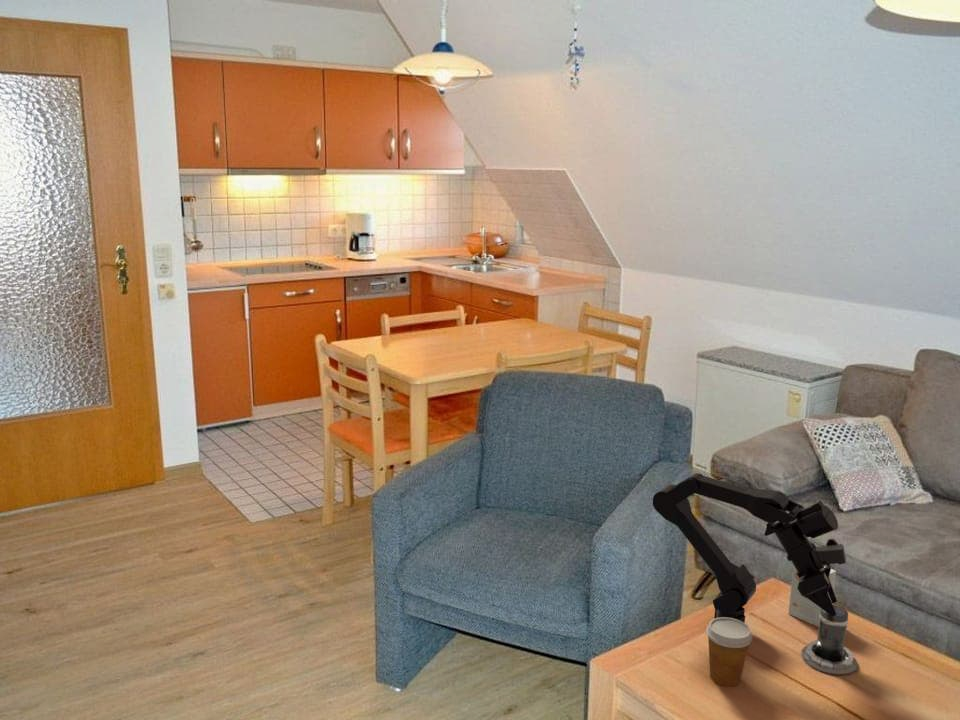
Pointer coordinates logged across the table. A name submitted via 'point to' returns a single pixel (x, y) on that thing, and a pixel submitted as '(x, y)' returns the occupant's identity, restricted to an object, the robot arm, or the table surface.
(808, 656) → the mount ring
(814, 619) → the small box
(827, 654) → the lens
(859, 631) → the table surface
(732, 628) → the disposable coffee cup
